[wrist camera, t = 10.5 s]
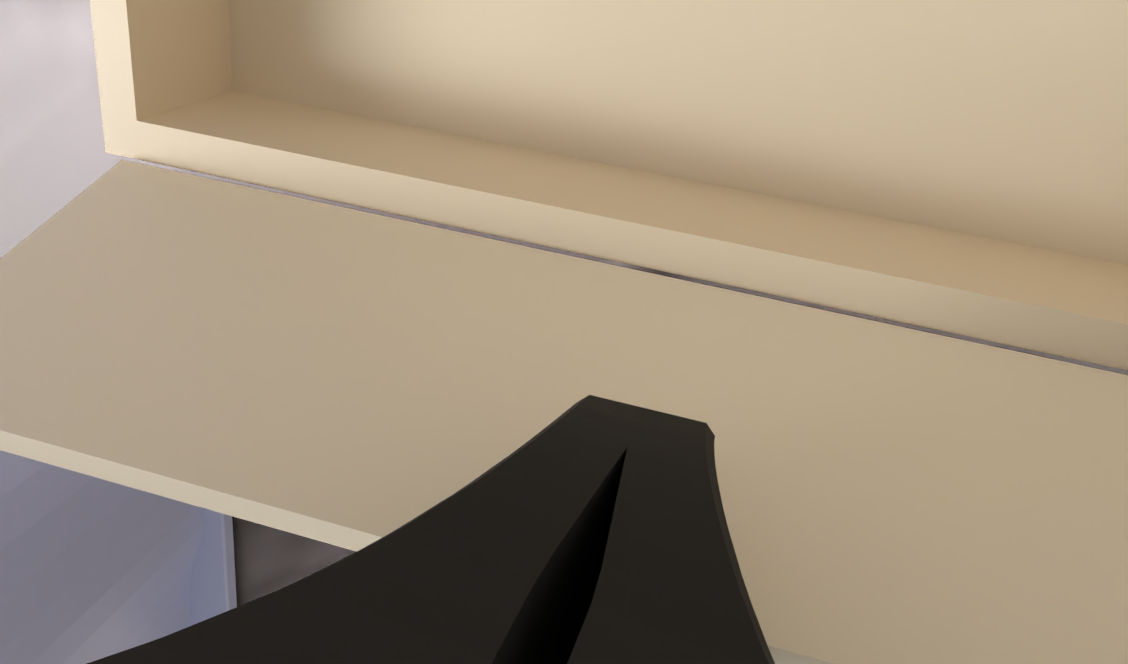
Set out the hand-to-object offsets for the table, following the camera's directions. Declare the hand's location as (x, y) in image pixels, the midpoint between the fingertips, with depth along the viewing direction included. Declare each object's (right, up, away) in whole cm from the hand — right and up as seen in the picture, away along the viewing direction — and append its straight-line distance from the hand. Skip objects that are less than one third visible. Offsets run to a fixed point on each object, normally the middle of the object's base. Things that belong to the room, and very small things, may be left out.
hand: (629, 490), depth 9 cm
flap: (0, +1, +1) cm, 2 cm away
